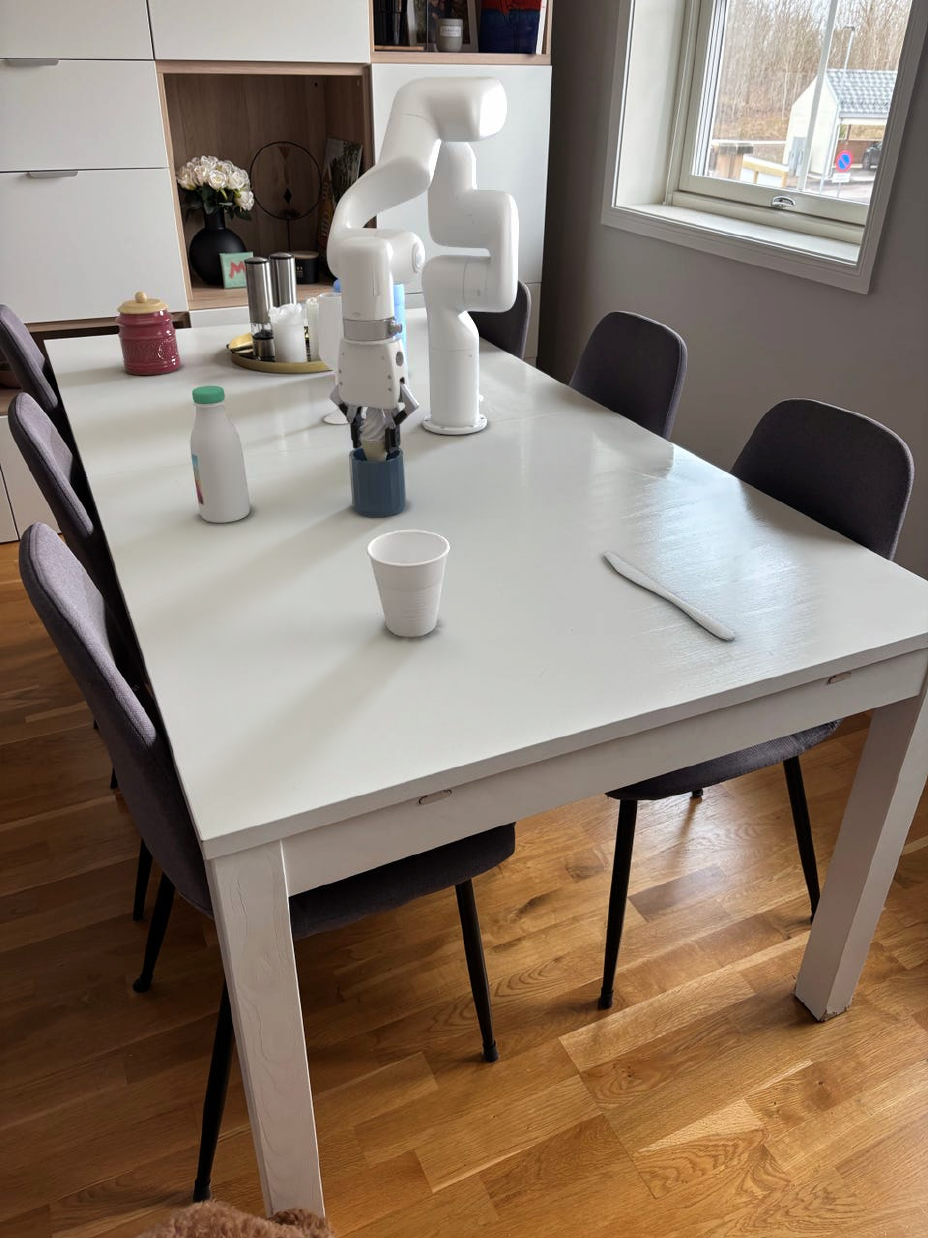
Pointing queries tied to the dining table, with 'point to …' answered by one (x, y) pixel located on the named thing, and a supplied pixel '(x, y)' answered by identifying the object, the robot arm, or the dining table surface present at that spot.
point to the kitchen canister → (147, 336)
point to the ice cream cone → (374, 435)
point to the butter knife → (670, 597)
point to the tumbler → (377, 484)
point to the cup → (409, 578)
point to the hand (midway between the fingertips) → (376, 447)
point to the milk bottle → (217, 459)
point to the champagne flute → (331, 340)
